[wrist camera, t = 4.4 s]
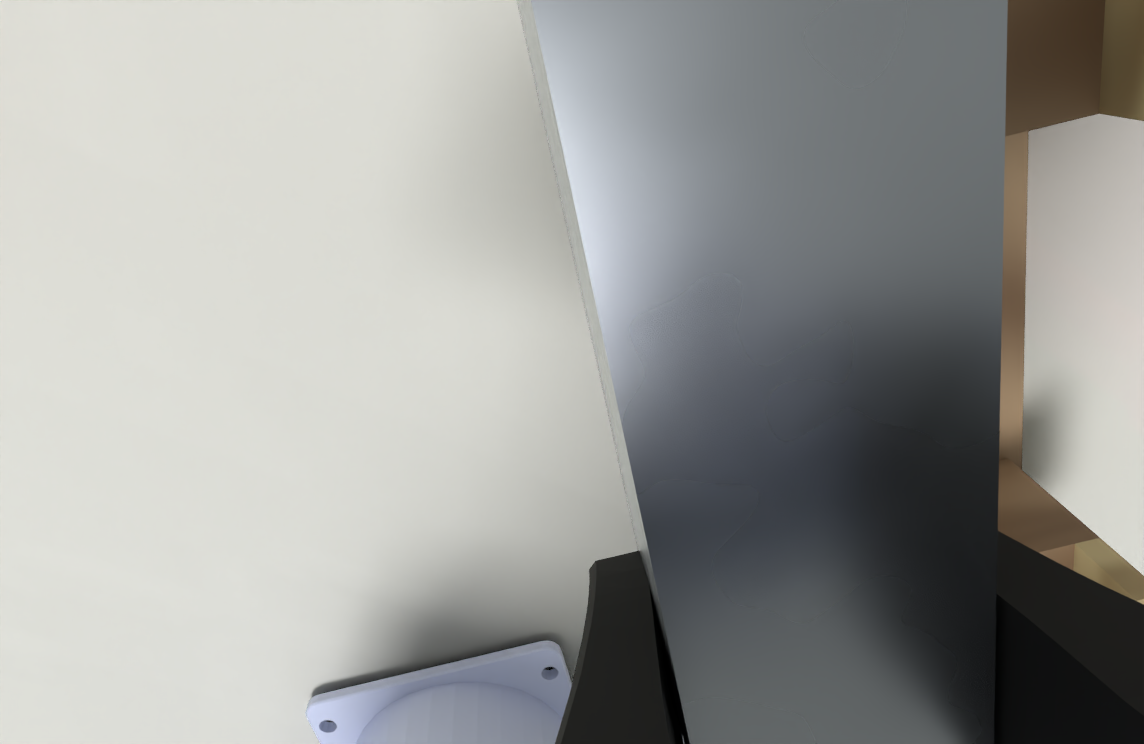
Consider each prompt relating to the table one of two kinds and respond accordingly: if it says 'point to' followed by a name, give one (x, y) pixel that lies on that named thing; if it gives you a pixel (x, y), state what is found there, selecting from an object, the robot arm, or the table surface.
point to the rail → (797, 343)
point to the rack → (1033, 100)
